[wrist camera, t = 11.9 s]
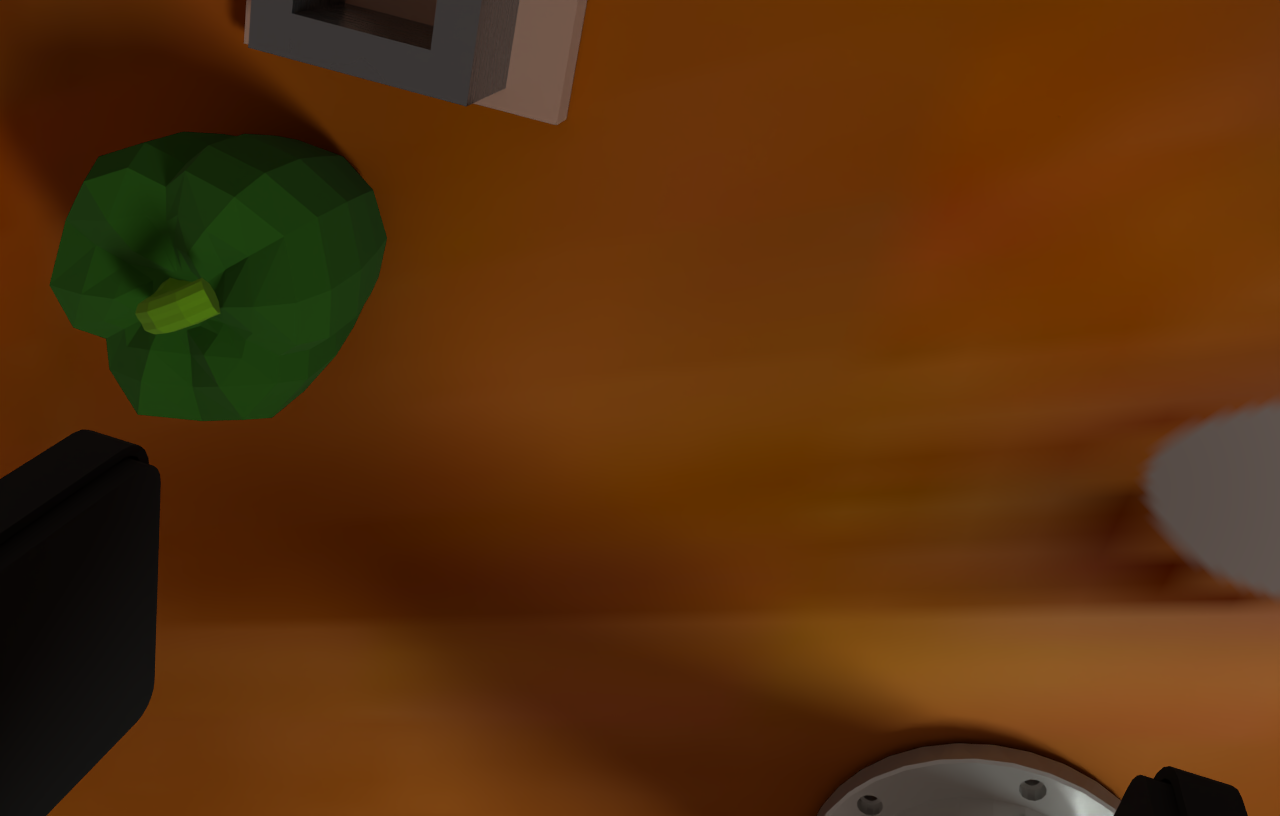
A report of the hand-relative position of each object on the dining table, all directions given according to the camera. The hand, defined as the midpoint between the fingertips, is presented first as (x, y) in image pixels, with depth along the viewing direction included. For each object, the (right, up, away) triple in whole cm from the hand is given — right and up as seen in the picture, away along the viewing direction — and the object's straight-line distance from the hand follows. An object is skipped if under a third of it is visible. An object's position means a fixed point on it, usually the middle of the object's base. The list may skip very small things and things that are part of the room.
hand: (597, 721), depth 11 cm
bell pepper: (-10, +9, +29) cm, 32 cm away
